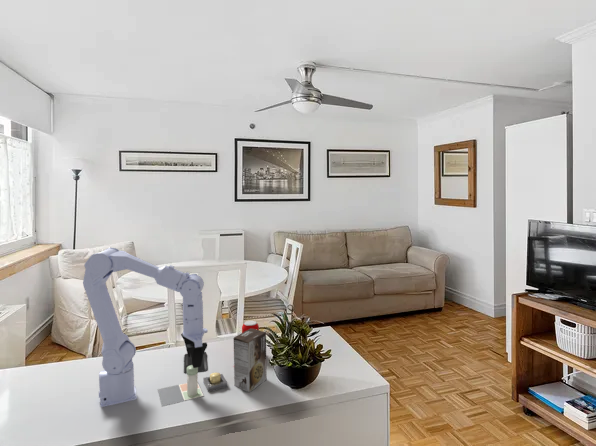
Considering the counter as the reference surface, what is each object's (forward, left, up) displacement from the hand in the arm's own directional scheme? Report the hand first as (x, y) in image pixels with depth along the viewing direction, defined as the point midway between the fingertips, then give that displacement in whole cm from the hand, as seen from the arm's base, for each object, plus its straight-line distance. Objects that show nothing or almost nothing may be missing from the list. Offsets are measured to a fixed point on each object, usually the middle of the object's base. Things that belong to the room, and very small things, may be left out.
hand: (194, 361), depth 115 cm
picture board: (-4, +2, -11) cm, 11 cm away
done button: (+7, +2, -9) cm, 12 cm away
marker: (-1, 0, -10) cm, 10 cm away
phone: (+4, +20, -11) cm, 23 cm away
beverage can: (+24, +19, -11) cm, 33 cm away
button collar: (+7, +2, -11) cm, 13 cm away
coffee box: (+17, -1, -11) cm, 20 cm away
